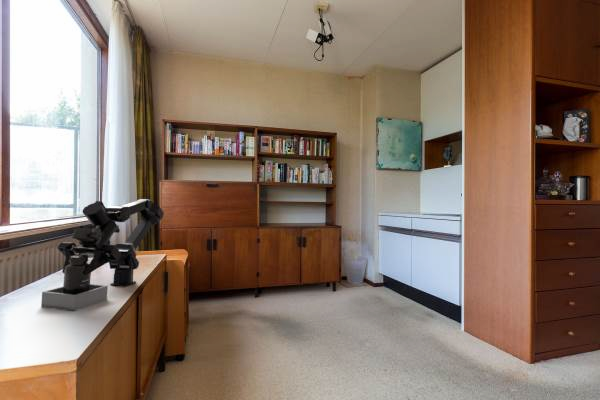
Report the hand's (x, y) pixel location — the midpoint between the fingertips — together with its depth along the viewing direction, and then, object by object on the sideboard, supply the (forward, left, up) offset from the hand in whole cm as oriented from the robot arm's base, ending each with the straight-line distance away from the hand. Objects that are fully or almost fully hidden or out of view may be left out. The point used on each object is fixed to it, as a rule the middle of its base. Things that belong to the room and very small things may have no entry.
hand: (74, 273), depth 93 cm
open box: (-1, 0, -9) cm, 10 cm away
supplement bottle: (-1, 0, -7) cm, 7 cm away
